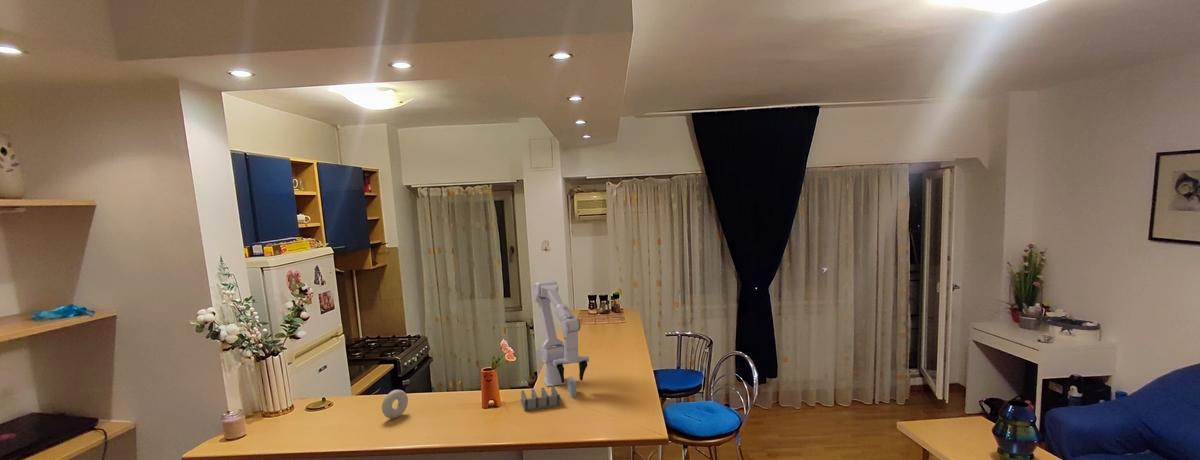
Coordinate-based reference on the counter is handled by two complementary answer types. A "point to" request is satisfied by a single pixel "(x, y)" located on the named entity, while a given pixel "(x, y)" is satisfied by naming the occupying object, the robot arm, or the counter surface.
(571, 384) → the plate
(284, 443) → the counter surface
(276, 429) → the counter surface
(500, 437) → the counter surface
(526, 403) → the rack
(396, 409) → the donut
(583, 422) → the counter surface
